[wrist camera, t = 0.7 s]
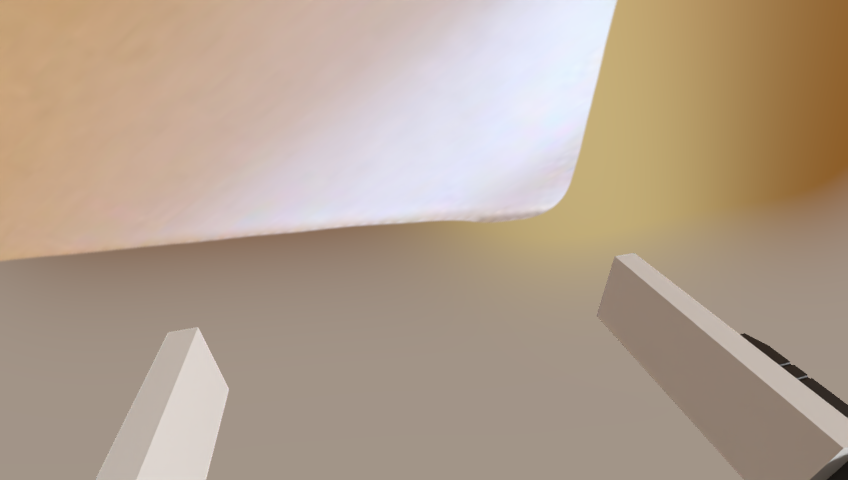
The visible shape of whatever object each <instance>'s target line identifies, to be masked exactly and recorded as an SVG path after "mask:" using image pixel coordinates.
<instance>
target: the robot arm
mask: <svg viewBox="0 0 848 480" xmlns="http://www.w3.org/2000/svg"><path fill="white" fill-rule="evenodd" d="M597 317H599V319H600V320H601V321H602V322H603V323H604V324H605V326H606V327H607V328H608V329H609V330H610V331H611V332H612V333H613V334H614V336H615V337H616V338H617V339H618V340H619V341H620V342H621V343H622V345H623V346H624V347H625V348H626V349H627V350H628V351H629V352H630V353H631V355H632V356H633V357H634V358H635V359H636V360H637V361H638V362H639V363H640V365H641V366H642V367H643V368H644V369H645V370H646V371H647V372H648V373H649V375H650V376H651V377H652V378H653V379H654V380H655V381H656V382H657V383H658V385H659V386H660V387H661V388H662V389H663V390H664V391H665V392H666V393H667V395H668V396H669V397H670V398H671V399H672V400H673V401H674V402H675V404H676V405H677V406H678V407H679V408H680V409H681V410H682V411H683V412H684V414H685V415H686V416H687V417H688V418H689V419H690V420H691V421H692V422H693V423H694V424H695V426H696V427H697V428H698V429H699V430H700V431H701V432H702V434H703V435H704V436H705V437H706V438H707V439H708V440H709V441H710V442H711V444H713V446H714V447H715V448H716V449H717V450H718V451H719V452H720V453H721V455H722V456H723V457H724V458H725V459H726V460H727V461H728V462H729V464H730V465H731V466H732V467H733V468H734V469H735V470H736V471H737V473H738V474H739V475H740V476H741V477H742V478H743V479H744V480H848V405H847V404H846V403H844V402H843V401H842V400H840V399H839V398H838V397H836V396H835V395H834V394H832V393H831V392H830V391H828V390H827V389H826V388H824V387H823V386H822V385H820V384H819V383H818V382H816V381H815V380H814V379H812V378H811V379H810V378H808V377H807V374H806V373H804V372H803V371H802V370H800V369H799V368H798V367H796V366H795V365H791V364H790V362H789V361H788V360H787V359H786V358H784V357H783V356H782V355H780V354H779V353H778V352H776V351H775V350H773V349H772V348H771V347H770V346H768V345H766V344H764V343H762V342H760V341H758V340H756V339H754V338H752V337H750V336H749V335H746V334H740V335H739V334H738V333H737V332H736V331H734V330H733V329H732V328H731V327H729V326H728V325H727V324H725V323H724V322H723V321H722V320H720V319H719V318H718V317H716V316H715V315H714V314H713V313H711V312H710V311H709V310H707V309H706V308H705V307H704V306H702V305H701V304H700V303H698V302H697V301H696V300H694V299H693V298H692V297H691V296H689V295H688V294H687V293H685V292H684V291H683V290H682V289H680V288H679V287H678V286H676V285H675V284H674V283H673V282H671V281H670V280H669V279H667V278H666V277H665V276H663V275H662V274H661V273H660V272H658V271H657V270H656V269H654V268H653V267H652V266H651V265H649V264H648V263H647V262H645V261H644V260H643V259H642V258H640V257H639V256H638V255H636V254H635V253H632V254H626V255H620V256H615V257H614V261H613V264H612V268H611V270H610V274H609V277H608V280H607V284H606V287H605V290H604V293H603V297H602V300H601V304H600V306H599V310H598V313H597ZM228 391H229V388H228V386H227V384H226V382H225V380H224V378H223V376H222V374H221V372H220V370H219V368H218V366H217V364H216V362H215V360H214V358H213V356H212V354H211V352H210V350H209V348H208V346H207V344H206V342H205V340H204V338H203V336H202V334H201V332H200V330H199V328H198V327H196V328H190V329H184V330H178V331H173V332H168V333H167V335H166V337H165V339H164V341H163V343H162V345H161V347H160V349H159V351H158V353H157V355H156V357H155V360H154V361H153V363H152V366H151V368H150V369H149V372H148V374H147V376H146V378H145V380H144V382H143V384H142V386H141V388H140V390H139V392H138V394H137V396H136V398H135V400H134V402H133V404H132V406H131V408H130V411H129V412H128V414H127V416H126V418H125V420H124V422H123V424H122V426H121V428H120V430H119V433H118V435H117V436H116V439H115V441H114V443H113V445H112V447H111V449H110V451H109V453H108V455H107V457H106V459H105V461H104V463H103V465H102V467H101V469H100V471H99V473H98V475H97V477H96V479H95V480H206V478H207V474H208V470H209V465H210V462H211V458H212V454H213V450H214V446H215V442H216V438H217V435H218V431H219V427H220V423H221V419H222V415H223V411H224V407H225V403H226V399H227V395H228Z"/></svg>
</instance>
